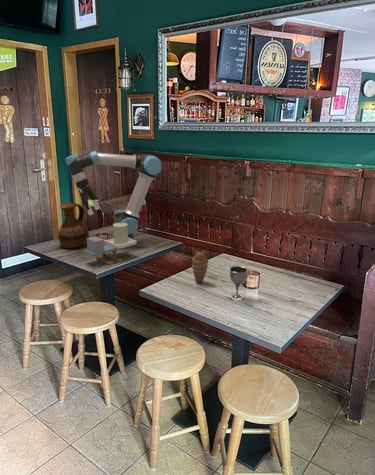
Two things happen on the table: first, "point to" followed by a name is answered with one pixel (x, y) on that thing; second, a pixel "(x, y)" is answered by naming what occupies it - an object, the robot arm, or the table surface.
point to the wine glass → (237, 277)
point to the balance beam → (97, 245)
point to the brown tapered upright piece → (199, 266)
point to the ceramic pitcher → (72, 227)
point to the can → (120, 233)
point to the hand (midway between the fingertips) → (94, 212)
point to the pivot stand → (109, 258)
